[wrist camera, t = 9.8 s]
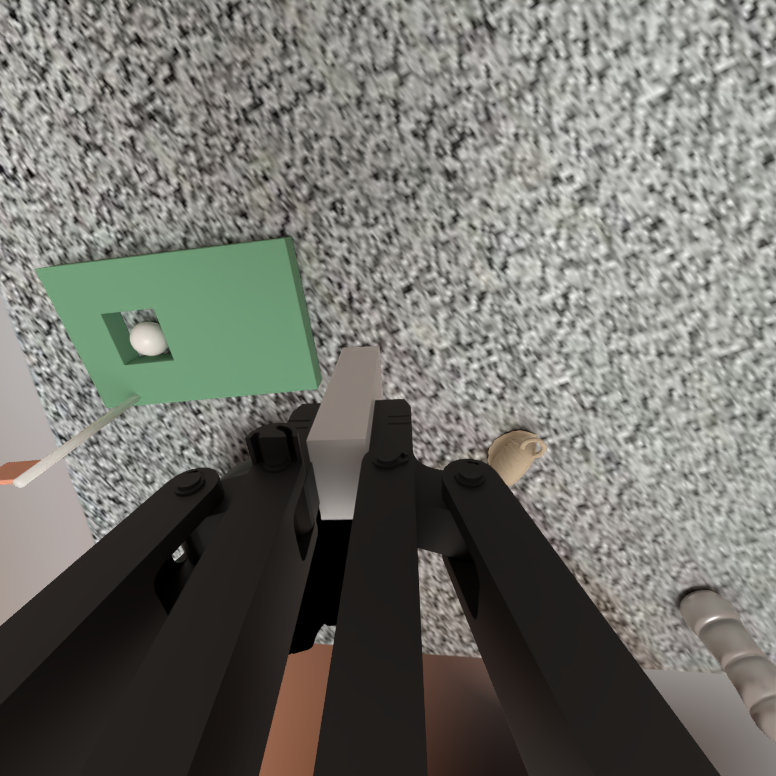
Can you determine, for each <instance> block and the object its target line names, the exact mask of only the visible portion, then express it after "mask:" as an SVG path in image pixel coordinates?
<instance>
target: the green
mask: <svg viewBox="0 0 776 776" xmlns="http://www.w3.org/2000/svg"><path fill="white" fill-rule="evenodd" d="M35 270H36V272H37V274H38V276H39V278H40V280H41V282H42V284H43V285H44V287H45V289H46V291H47V293H48V295H49V297H50V299H51V301H52V303H53V305H54V307H55V309H56V311H57V313H58V315H59V317H60V318H61V320H62V322H63V324H64V326H65V328H66V330H67V332H68V334H69V336H70V338H71V340H72V342H73V344H74V346H75V348H76V350H77V352H78V353H79V355H80V357H81V359H82V361H83V363H84V365H85V367H86V369H87V371H88V373H89V375H90V377H91V379H92V381H93V383H94V385H95V386H96V388H97V390H98V392H99V394H100V396H101V398H102V400H103V402H104V404H105V406H106V408H114V407H115V408H114V409H113V410H111V411H110V412H108V413H107V414H106V415H104V416H103V417H101V418H100V419H99V420H97V421H96V422H94V423H93V424H92V425H90V426H89V427H87V428H86V429H85V430H83V431H82V432H80V433H79V434H78V435H76V436H75V437H73V438H72V439H71V440H69V441H68V442H66V443H65V444H64V445H62V446H61V447H59V448H58V449H56V450H55V451H54V452H52V453H51V454H50V455H48V456H47V457H45V458H44V459H43V460H34V461H22V462H9V463H6V464H4V465H3V466H1V467H0V485H3V484H14V485H15V486H17V487H19V488H22V487H24V486H25V485H27V484H28V483H29V482H30V481H32V480H33V479H34V478H36V477H37V476H38V475H40V474H41V473H43V472H44V471H45V470H47V469H48V468H49V467H51V466H52V465H53V464H55V463H56V462H57V461H59V460H60V459H61V458H63V457H64V456H65V455H67V454H68V453H69V452H71V451H72V450H73V449H75V448H76V447H77V446H79V445H80V444H81V443H83V442H84V441H85V440H87V439H88V438H89V437H91V436H92V435H93V434H95V433H96V432H97V431H99V430H100V429H101V428H103V427H104V426H105V425H107V424H108V423H109V422H111V421H112V420H113V419H115V418H116V417H117V416H119V415H120V414H121V413H123V412H124V411H125V410H127V409H128V408H129V407H131V406H136V405H147V404H158V403H169V402H180V401H191V400H202V399H213V398H225V397H236V396H247V395H258V394H269V393H280V392H291V391H302V390H313V389H318V387H319V385H320V383H321V380H322V377H321V372H320V368H319V363H318V358H317V353H316V349H315V344H314V339H313V334H312V330H311V325H310V320H309V316H308V311H307V306H306V301H305V297H304V292H303V287H302V282H301V278H300V273H299V268H298V263H297V259H296V254H295V249H294V245H293V240H292V237H283V238H275V239H267V240H259V241H251V242H242V243H234V244H226V245H218V246H210V247H202V248H193V249H185V250H177V251H169V252H161V253H153V254H144V255H136V256H128V257H120V258H112V259H103V260H95V261H87V262H79V263H71V264H63V265H55V266H50V267H44V268H38V269H35ZM151 308H154V311H155V313H156V316H157V318H158V321H159V323H160V326H161V329H162V331H163V334H164V336H165V339H166V341H167V344H168V346H169V349H170V351H171V354H161V355H155V356H141V357H139V355H138V352H137V351H136V350H135V349H134V348H133V347H132V345H131V343H130V334H129V332H128V330H127V327H126V325H125V323H124V320H123V318H122V316H121V314H120V312H124V311H133V310H142V309H151Z"/></svg>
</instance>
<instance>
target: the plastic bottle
mask: <svg viewBox="0 0 776 776" xmlns="http://www.w3.org/2000/svg"><path fill="white" fill-rule="evenodd" d="M680 612H681V614H682V616H683V618H684V620H685V622H686V624H687V625H688V626H689V627H690V629H691V630H692V631H693V632H694V633H695V634H696V635H697V636H698V637H699V638H700V639H701V640H702V642H703V643H704V644H705V645H706V647H707V648H708V649H709V651H710V652H711V653H712V654H713V656H714V657H715V658H716V659H717V661H718V662H719V663H720V665H721V666H722V668H723V670H724V671H725V672H726V673H727V676H728V677H729V679H730V680H731V682H732V684H733V685H734V687H735V688H736V690H737V691H738V694H739V695H740V697H741V699H742V701H743V702H744V704H745V706H746V708H747V710H748V712H749V713H750V715H751V717H752V719H753V721H754V722H755V724H756V725H757V727H758V728H759V729H760V730H761V731H762V732H763V733H764V734H765V735H766V736H767V737H768V738H769V739H771V740H772V741H774V742H775V743H776V666H775V665H774V664H773V663H772V662H771V661H770V660H769V659H768V658H767V656H766V655H765V654H764V653H763V651H762V650H761V649H760V648H759V646H758V645H757V644H756V642H755V641H754V639H753V638H752V637H751V635H750V634H749V632H748V631H747V629H746V628H745V627H744V625H743V624H742V622H741V620H740V618H739V616H738V615H737V613H736V612H735V610H734V608H733V607H732V606H731V605H730V604H729V603H728V602H727V601H726V600H725V599H724V598H723V597H722V596H721V595H719V594H717V593H715V592H713V591H710V590H698V591H694V592H692V593H690V594H688V595H686V596H685V597H684V598H683V599H682V600H681V602H680Z"/></svg>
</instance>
